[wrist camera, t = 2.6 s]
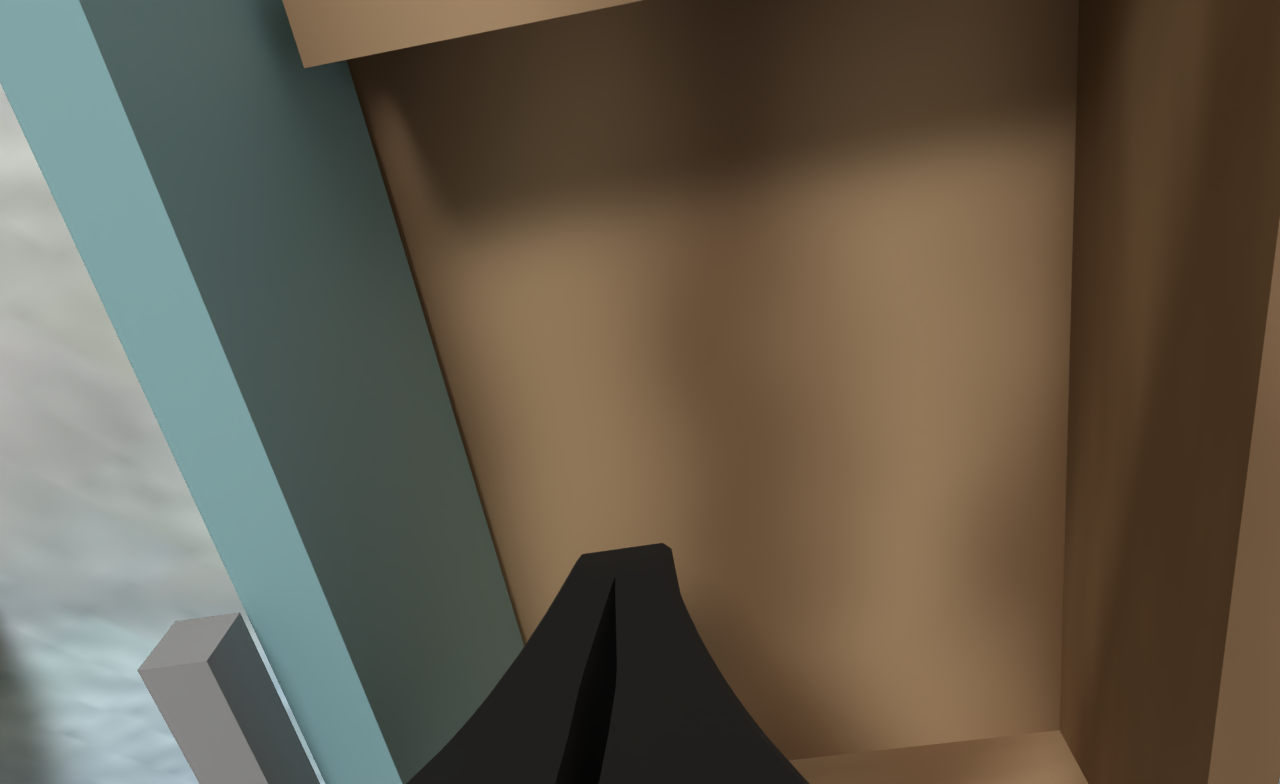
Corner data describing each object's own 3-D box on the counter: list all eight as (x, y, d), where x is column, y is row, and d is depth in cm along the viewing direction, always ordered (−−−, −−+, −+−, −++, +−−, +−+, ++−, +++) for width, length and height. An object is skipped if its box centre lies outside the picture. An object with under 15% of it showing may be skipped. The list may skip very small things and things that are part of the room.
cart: (1096, -252, 13) (1499, -482, 7) (1065, 728, 22) (1234, 1036, 15) (293, -77, 14) (2, -133, 8) (559, 784, 23) (518, 1090, 16)
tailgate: (324, -13, 13) (-4, -18, 6) (578, 825, 20) (540, 1202, 14) (211, 12, 13) (-216, 28, 7) (504, 833, 20) (433, 1208, 14)
